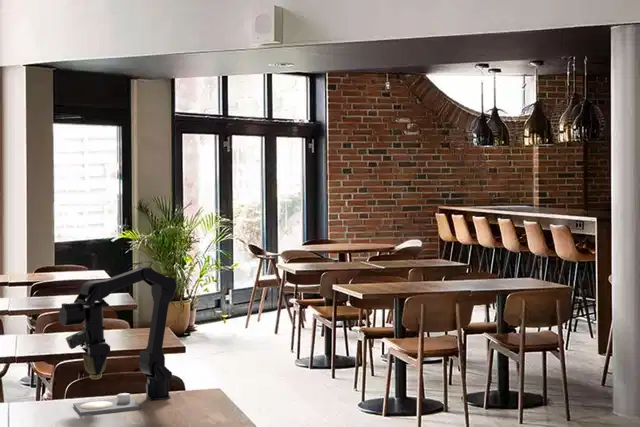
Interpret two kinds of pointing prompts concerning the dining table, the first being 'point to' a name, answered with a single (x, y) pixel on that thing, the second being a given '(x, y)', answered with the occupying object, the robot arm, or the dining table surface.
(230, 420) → the dining table surface
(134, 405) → the carrier plate
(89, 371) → the cup
